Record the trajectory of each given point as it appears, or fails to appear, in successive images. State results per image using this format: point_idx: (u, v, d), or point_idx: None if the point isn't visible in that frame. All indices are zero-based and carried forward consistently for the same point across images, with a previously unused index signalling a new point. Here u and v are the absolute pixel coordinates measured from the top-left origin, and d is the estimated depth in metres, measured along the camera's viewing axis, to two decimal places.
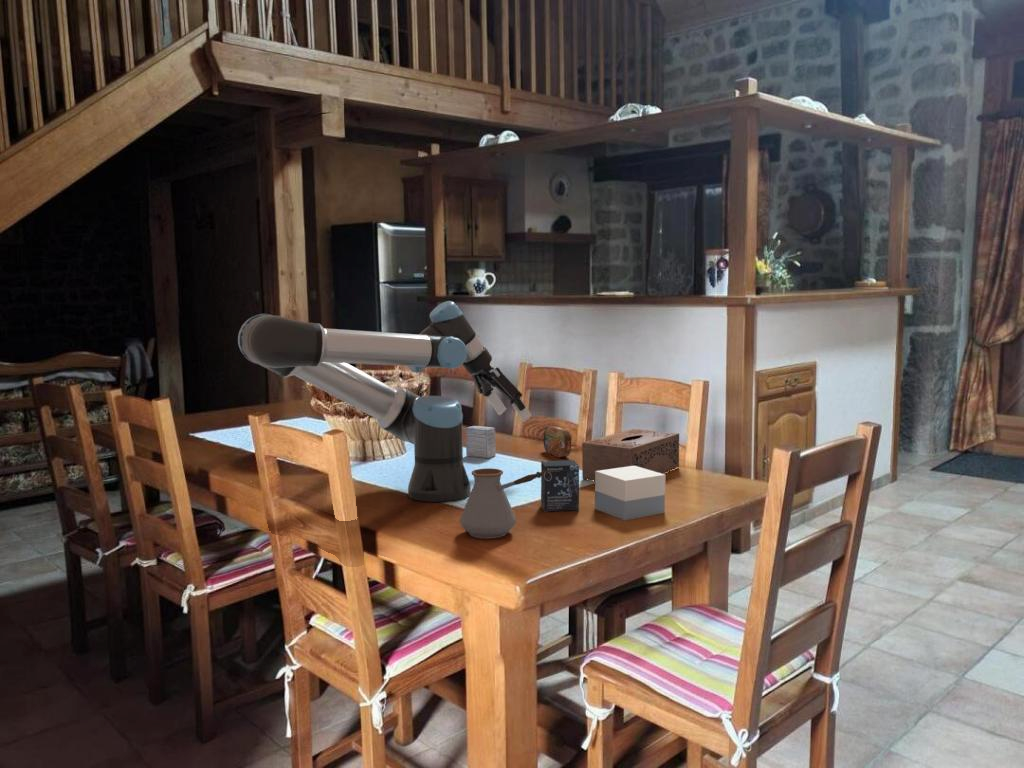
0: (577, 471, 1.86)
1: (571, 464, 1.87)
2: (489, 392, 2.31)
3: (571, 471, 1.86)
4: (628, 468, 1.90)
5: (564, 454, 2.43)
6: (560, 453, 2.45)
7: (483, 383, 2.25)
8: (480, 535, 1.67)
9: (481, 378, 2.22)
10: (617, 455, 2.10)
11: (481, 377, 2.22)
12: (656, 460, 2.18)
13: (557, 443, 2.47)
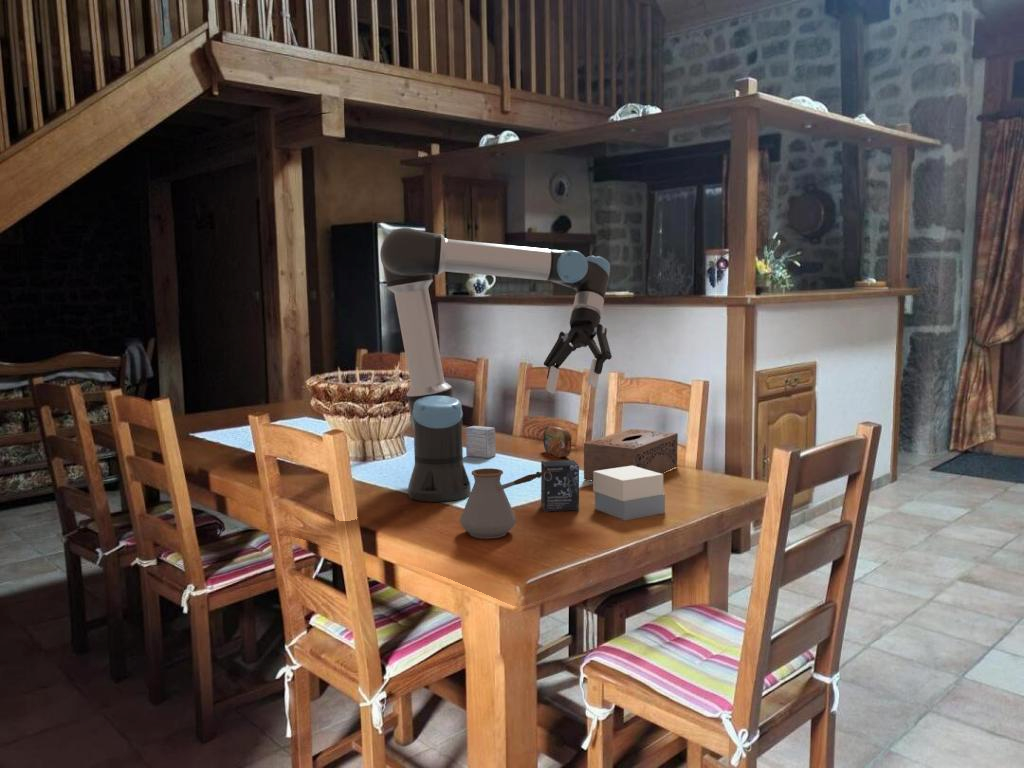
0: (577, 471, 1.86)
1: (571, 464, 1.87)
2: (555, 367, 2.13)
3: (572, 471, 1.86)
4: (626, 468, 1.90)
5: (564, 454, 2.43)
6: (560, 453, 2.45)
7: (567, 345, 2.11)
8: (480, 535, 1.67)
9: (574, 336, 2.11)
10: (620, 455, 2.10)
11: (575, 335, 2.11)
12: (657, 460, 2.19)
13: (557, 443, 2.47)
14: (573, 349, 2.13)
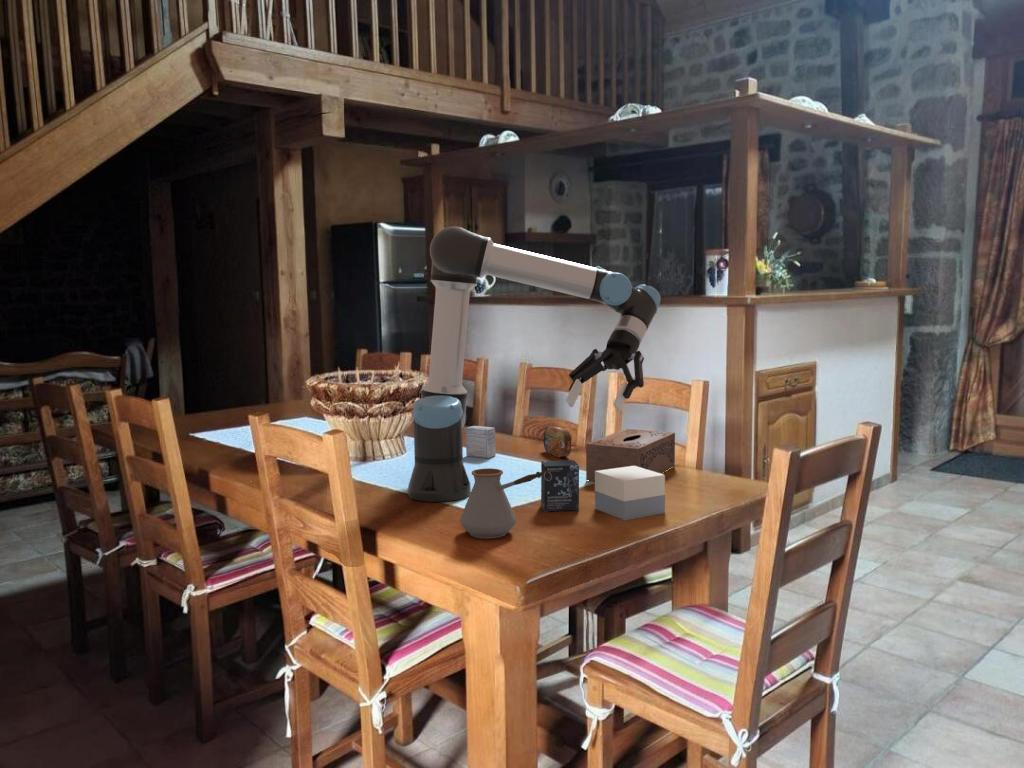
0: (577, 471, 1.86)
1: (571, 464, 1.87)
2: (579, 381, 2.06)
3: (572, 471, 1.86)
4: (628, 468, 1.90)
5: (564, 454, 2.43)
6: (560, 453, 2.45)
7: (599, 363, 2.04)
8: (480, 535, 1.67)
9: (608, 356, 2.04)
10: (624, 455, 2.10)
11: (610, 355, 2.04)
12: (658, 459, 2.19)
13: (557, 443, 2.47)
14: (603, 369, 2.06)
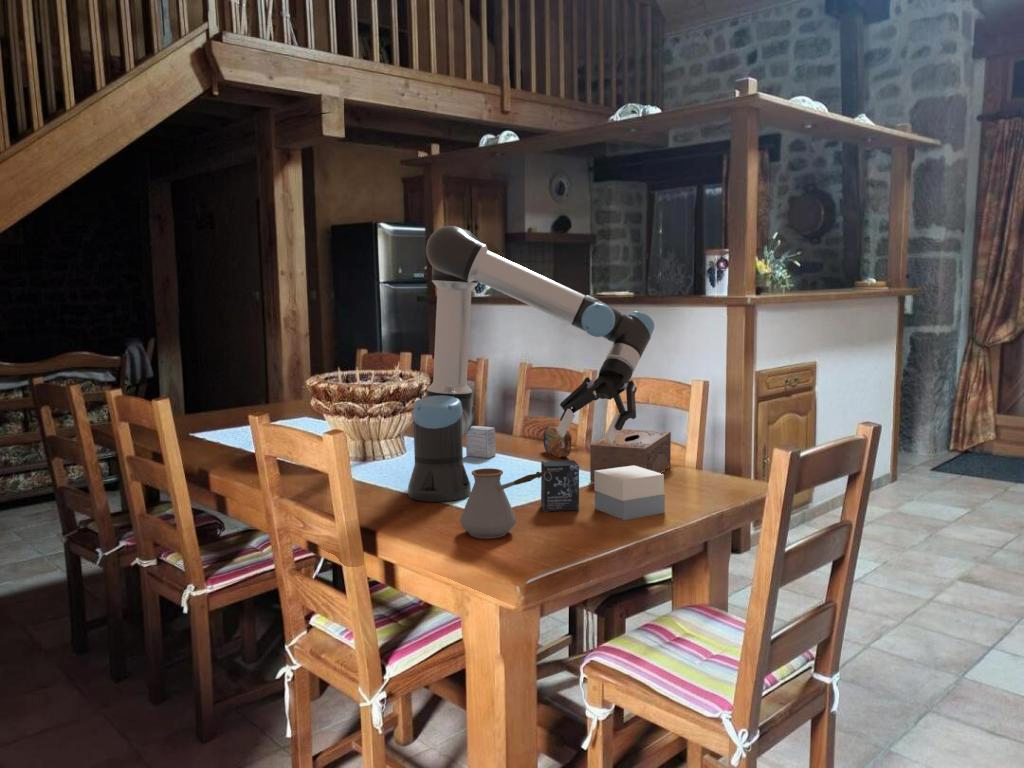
0: (577, 471, 1.86)
1: (571, 464, 1.87)
2: (571, 411, 2.01)
3: (572, 471, 1.86)
4: (627, 468, 1.91)
5: (564, 454, 2.43)
6: (560, 453, 2.45)
7: (591, 393, 2.00)
8: (480, 535, 1.67)
9: (601, 385, 1.99)
10: (630, 455, 2.09)
11: (602, 384, 1.99)
12: (658, 459, 2.20)
13: (557, 443, 2.47)
14: (595, 398, 2.01)
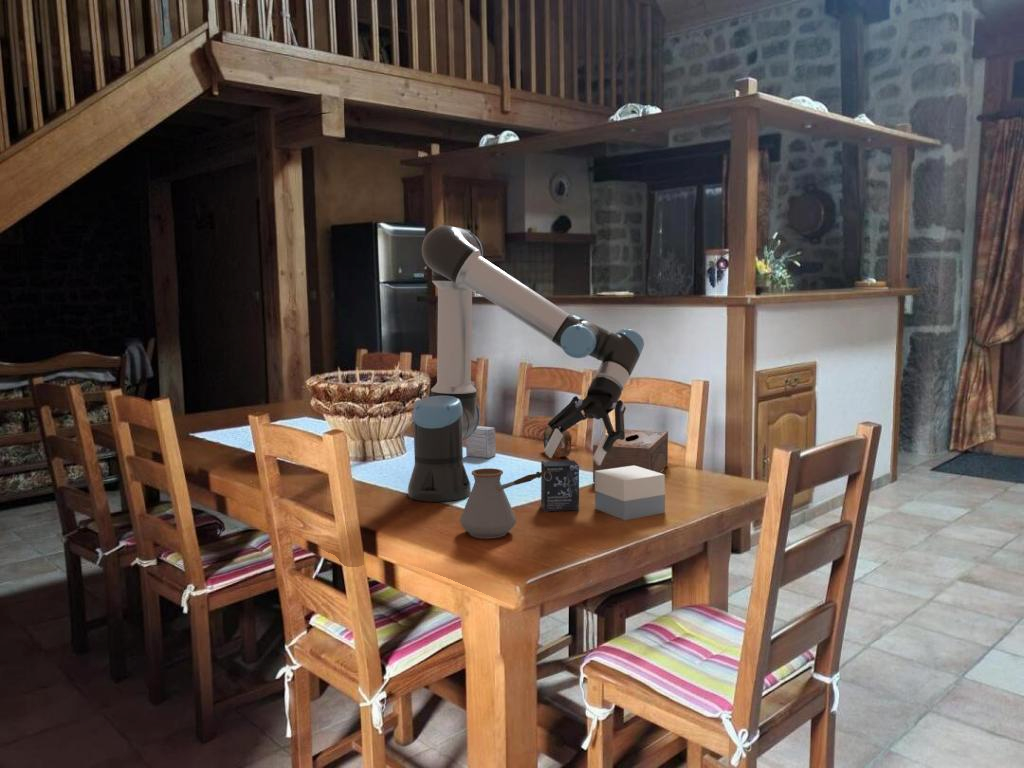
0: (577, 471, 1.86)
1: (571, 464, 1.87)
2: (559, 430, 1.98)
3: (572, 471, 1.86)
4: (628, 468, 1.90)
5: (564, 454, 2.43)
6: (560, 453, 2.45)
7: (579, 412, 1.96)
8: (480, 535, 1.67)
9: (589, 404, 1.96)
10: (633, 455, 2.09)
11: (590, 404, 1.96)
12: (659, 458, 2.20)
13: None
14: (583, 418, 1.98)
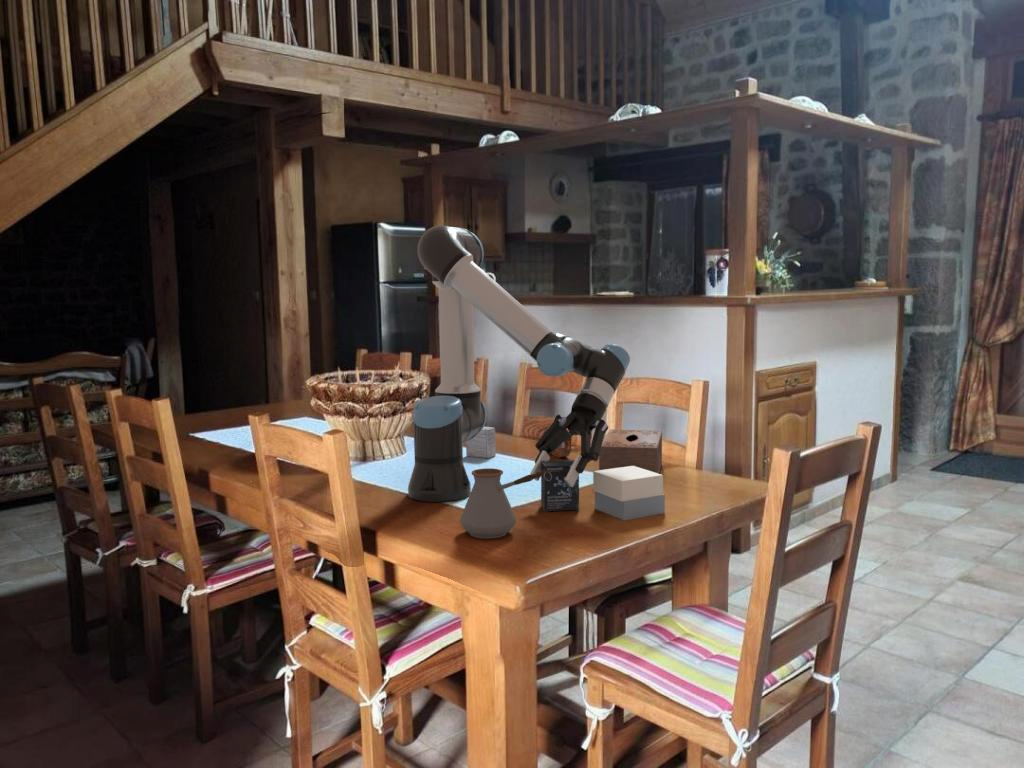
0: None
1: (571, 464, 1.87)
2: (547, 452, 1.93)
3: None
4: (626, 468, 1.90)
5: (564, 454, 2.43)
6: (560, 453, 2.45)
7: (564, 430, 1.93)
8: (480, 535, 1.67)
9: (573, 421, 1.93)
10: (640, 455, 2.09)
11: (575, 420, 1.93)
12: (659, 458, 2.21)
13: None
14: (569, 436, 1.94)
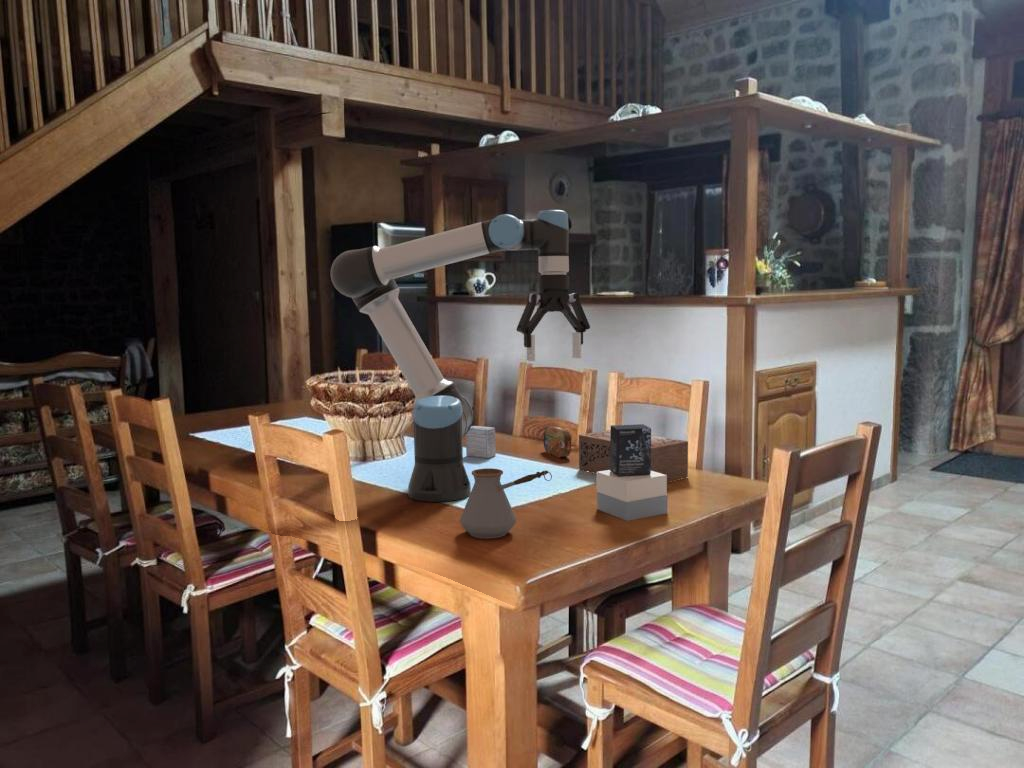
0: (649, 434, 1.83)
1: (643, 427, 1.83)
2: None
3: (644, 435, 1.82)
4: None
5: (564, 454, 2.43)
6: (560, 453, 2.45)
7: None
8: (480, 535, 1.67)
9: None
10: (677, 451, 2.14)
11: None
12: None
13: (557, 443, 2.47)
14: None
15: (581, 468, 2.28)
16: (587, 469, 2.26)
